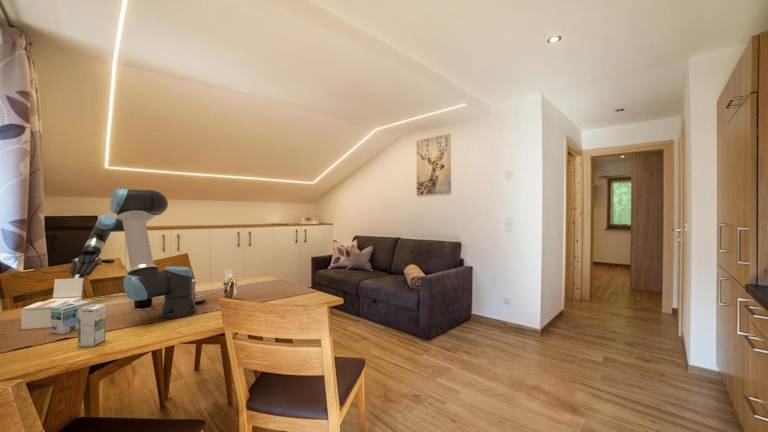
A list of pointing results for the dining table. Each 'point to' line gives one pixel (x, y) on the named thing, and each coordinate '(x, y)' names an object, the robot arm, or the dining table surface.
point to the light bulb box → (66, 317)
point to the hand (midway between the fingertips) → (73, 287)
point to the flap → (68, 287)
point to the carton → (42, 313)
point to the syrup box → (91, 325)
